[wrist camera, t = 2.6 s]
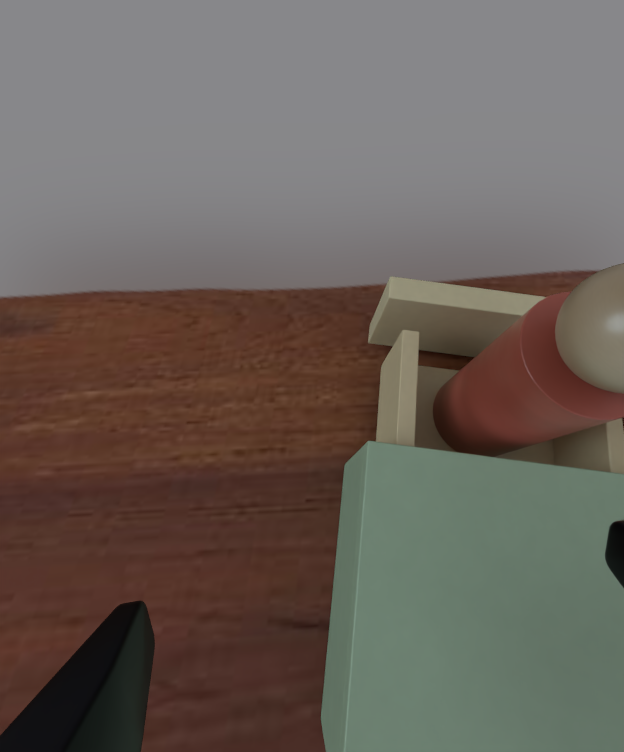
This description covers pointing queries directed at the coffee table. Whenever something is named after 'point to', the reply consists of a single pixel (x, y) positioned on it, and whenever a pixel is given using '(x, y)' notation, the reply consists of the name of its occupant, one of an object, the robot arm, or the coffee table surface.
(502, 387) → the doll
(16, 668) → the coffee table surface
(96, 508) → the coffee table surface
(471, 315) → the drawer
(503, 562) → the cabinet
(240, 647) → the coffee table surface
